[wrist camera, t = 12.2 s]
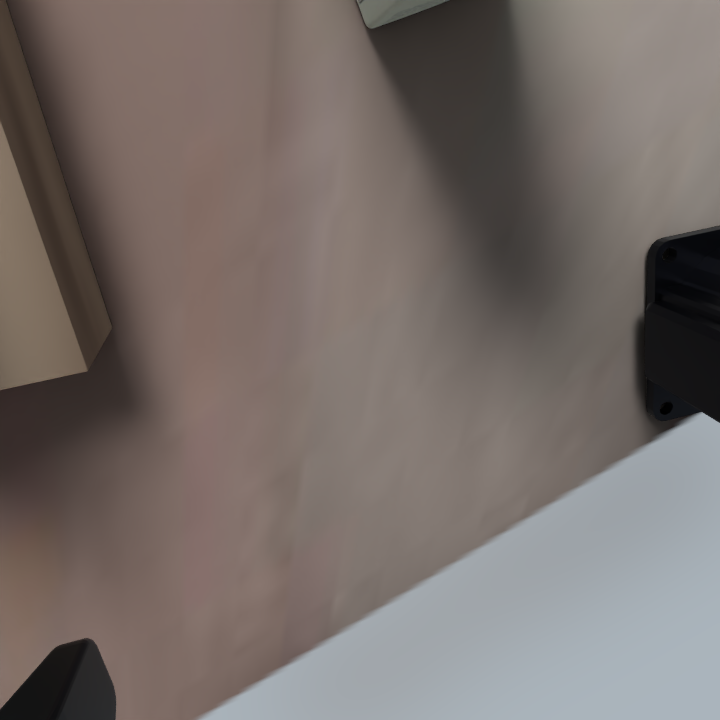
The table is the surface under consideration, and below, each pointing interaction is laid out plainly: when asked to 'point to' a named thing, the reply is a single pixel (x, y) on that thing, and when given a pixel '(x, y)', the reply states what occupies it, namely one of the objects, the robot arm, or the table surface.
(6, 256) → the tan flat block
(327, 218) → the table surface
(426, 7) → the skincare box
